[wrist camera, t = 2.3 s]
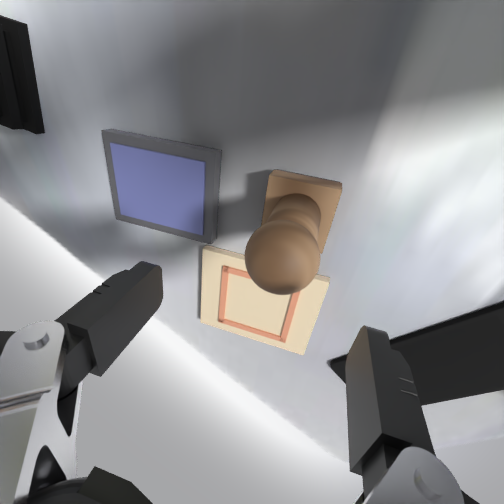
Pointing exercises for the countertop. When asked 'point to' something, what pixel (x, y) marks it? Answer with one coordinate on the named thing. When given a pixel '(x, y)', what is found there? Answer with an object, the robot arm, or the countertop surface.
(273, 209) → the stamp
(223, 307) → the board
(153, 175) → the ink pad
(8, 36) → the chess piece
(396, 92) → the countertop surface
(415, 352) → the cell phone
